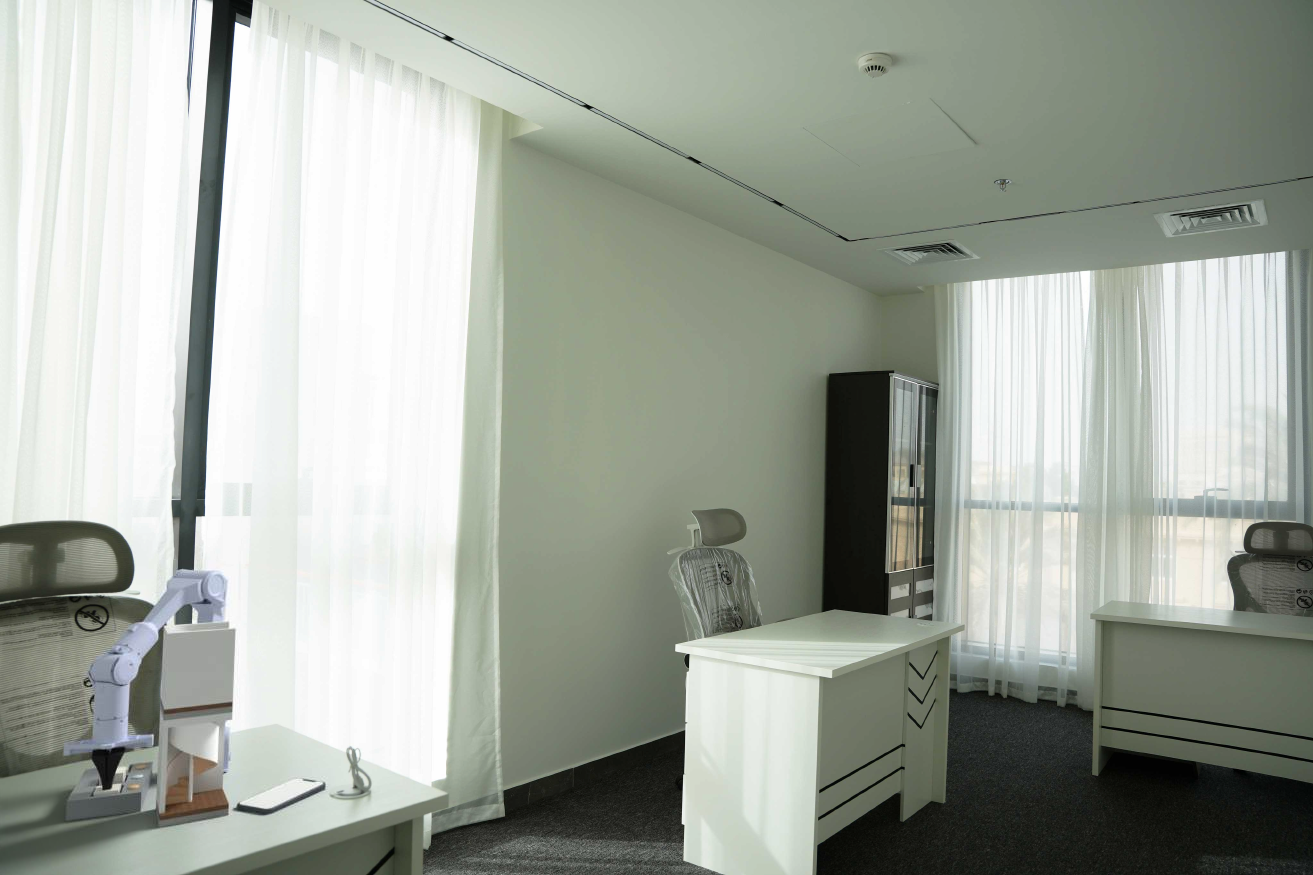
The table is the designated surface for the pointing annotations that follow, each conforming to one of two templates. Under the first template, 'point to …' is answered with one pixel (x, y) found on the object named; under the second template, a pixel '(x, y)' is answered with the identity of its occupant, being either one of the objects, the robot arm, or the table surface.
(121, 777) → the middle button
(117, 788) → the button
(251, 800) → the smartphone
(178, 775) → the spiral staircase model
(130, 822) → the table surface
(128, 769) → the button
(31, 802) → the table surface
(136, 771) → the button board
